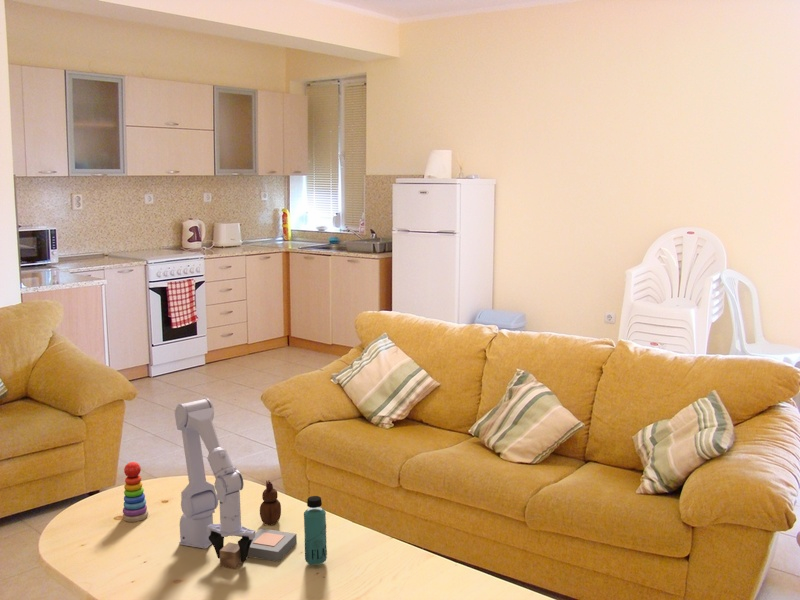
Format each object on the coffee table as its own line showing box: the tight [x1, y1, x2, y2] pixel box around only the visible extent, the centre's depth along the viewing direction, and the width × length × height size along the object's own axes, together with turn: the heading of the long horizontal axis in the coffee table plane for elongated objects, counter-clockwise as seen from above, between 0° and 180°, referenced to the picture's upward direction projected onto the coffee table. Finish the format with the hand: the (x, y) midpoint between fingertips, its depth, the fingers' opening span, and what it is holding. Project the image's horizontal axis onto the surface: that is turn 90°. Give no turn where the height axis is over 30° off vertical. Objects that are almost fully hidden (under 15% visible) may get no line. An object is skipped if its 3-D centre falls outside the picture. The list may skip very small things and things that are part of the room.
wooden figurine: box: [259, 480, 282, 526], centre depth 244 cm, size 7×6×15 cm
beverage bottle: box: [303, 495, 328, 566], centre depth 217 cm, size 6×7×20 cm
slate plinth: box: [247, 528, 298, 563], centre depth 227 cm, size 12×12×3 cm
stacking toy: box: [122, 461, 149, 523], centre depth 248 cm, size 8×8×19 cm
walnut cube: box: [219, 542, 244, 570], centre depth 219 cm, size 5×5×5 cm
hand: (232, 558), depth 219 cm, fingers open, 7 cm apart
